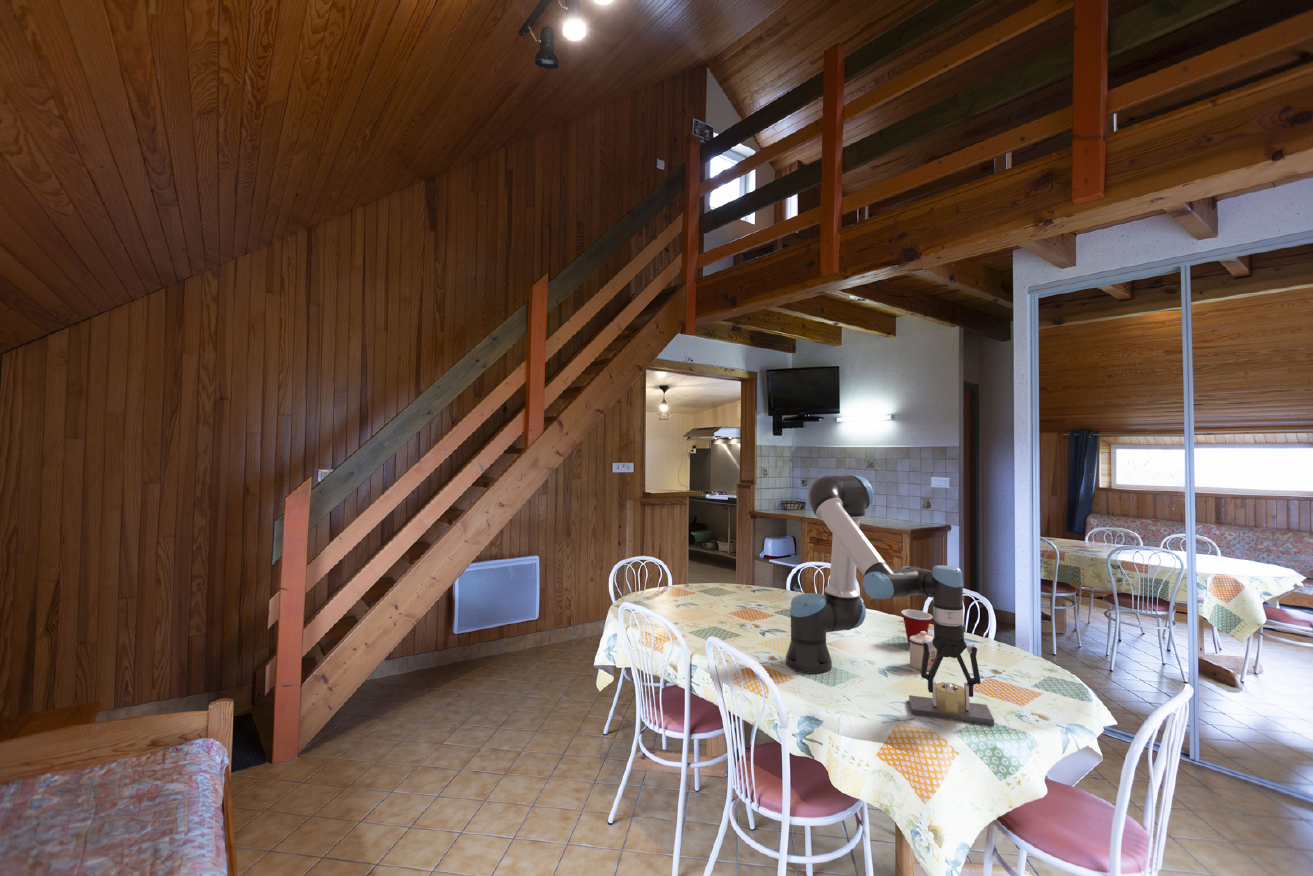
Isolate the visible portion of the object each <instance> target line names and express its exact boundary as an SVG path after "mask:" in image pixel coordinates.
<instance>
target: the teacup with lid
mask: <svg viewBox="0 0 1313 876" xmlns="http://www.w3.org/2000/svg"><path fill="white" fill-rule="evenodd" d="M933 638H934V636H933V637H932V636H931V635H929V634H927V633H926V632H925V631H921V632H920V634H917V635H914V636H911V637H910V638H909V641H910V645H909V665H910V666H911V667H913V669H917V670H920V671H921V665H922V658H923V651H924V648H923V644H922V642H923V641H926V642H928V641H932V640H933ZM936 654H937V649H936V648H935V647H934V645H933V646H932V647H931V650H929V658H928V666H927V672H928V671H930V669H931V666H932V664H933V662H934V659H935V657H936Z"/></svg>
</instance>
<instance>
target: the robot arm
mask: <svg viewBox="0 0 1313 876" xmlns="http://www.w3.org/2000/svg"><path fill="white" fill-rule="evenodd" d="M874 498H875V496H874V491H873V488H872V485H871V484H870V483H869V481H868V480H867V479H866V477H863V476H861V475H852V474H845V475H823V476H821V477H818V478H816V480H814V481H813V483H811V485H810V488H809V491H808V504H809V507H810V508H811V510H812V513H813V514H814V515H815V517H816V518H817V519H818V520H820V521H823V522H824V523H825V525H826V526H827V528H828V529H829V530H830V532H831V533H832V542H831V543H832V544H831V554H830V556H831V558H830V573H829V575H830V576H829V584H828V585H827V586H826V587H825V588H824V593H818V592H817V593H816V592H811V593H809V592H807V593H806V592H805V593H800V594H797V595H795V596H794V597H793V598H792V599H791V602H790V610H789V612H790V643H789V647H788V649H787V651H786V652H787V653H786V655H785V665H786V666H787V667H788V668H789V669H791V670H794V671H797V672H800V673H806V674H821V673H823V674H824V673H827V672H828V671H831V670H832V668H833V667H832V665H833V663H832V662H833V661H832V658H831V655H830V652H829V649H828V646H827V633H832V632H840V631H851V630H852V629H857V628H859V627H860V626H861V625H863V623H864V621H865V618H866V613H867V609H866V605H865V604H864V603H865V602H864V599H863V598H862V597H861V596H860V592H859V591H858V590H857V588H856V583H857V568H858V570H859V572H860V573H861V574H862V575H863V579H862V586H863V588H864V592H865V594H866V595H867V596H868V598H869V597H870V598H871V599H874V600H888V599H892V598H899V597H900V598H901V597H909V596H917V595H918V596H925V597H928V598H932V603H933V608H932V609H933V620H934V622H933V640H932V641H928V642H926V641H923V642H922V644H923V648H924V651H923V658H922V665H921V670H920V678H922V679H925V680H926V681H927V690H928V693H931V694H932V695H931V696H932V697H931V698H932V702H933V706H937V701H936V684H937V682H936V679H935V678H936V677H935V676H936V675H937V671H938V670H939V668H940V665H941V662H942V661H943V659H944V658H952V659H957V661H958V664H959V666H960V668H961V671H962V673H963V675H964V678H965V680H966V682H965V681H964V682H963V688H964V690H965V708H966V710H969V703H970V698H973V697H974V686H975V685H981V683H982V681H981V677H980V670H979V665H978V660H977V654H978V648H977V646H976V645H975V644H967V643H966V641H965V628H964V627H965V626H964V625H963V624H964V581H963V573H962V570H961V569H960V567H958V566H954V565H943V564H941V565H934V566H933V567H932V570H929V569H926V568H925V569H924V568H922V567H921V568H920V567H917V566H908V565H905V566H902V567H901V568H900V569H895V570H893V569H891V567H890V566H889V565H888V563H887V562H886V561H885V560H884V559H883V557H882V556H881V554H880V553H879V552H878V551H877V550H876V548H875V547H874V546H873V544H872V543H871V542H870V541H869V539H868V538H867V537H866V535H865V534H864V532H863V531H862V530H861V529H860V522H861V520H863V518H865V517H866V509H869V508H870V507H871V505H872V504H873V503H874ZM933 645H934V647H935V648H936V649H937V654H936V657H935V659H934V662H933V664H932V666H931V669H930V671H929V672H928V671H927V666H928V658H929V650H931V647H932V646H933ZM965 650H967V652H968V653H969V658H970V664H971V668H972V674H973V677H971V675H970V673H969V671H968V669H967V667H966V664H965V661H964V660H963V657H962V655H961V654H963V652H964V651H965ZM927 672H928V673H927Z"/></svg>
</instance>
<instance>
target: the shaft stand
mask: <svg viewBox="0 0 1313 876" xmlns="http://www.w3.org/2000/svg"><path fill="white" fill-rule="evenodd" d="M945 683H946V684H945V689H947V690H953V691H954V685H952V684H948V683H949V682H945ZM908 702H909V706H910V712H911V715H912V716H913V715H914V716H919V715H920V717H928V718H935V719H943V720H950V721H957V722H958V721H959V722H964V723H965V722H966V723H973V724H978V725H979V724H980V725H987V726H988V725H989V726H995V719H994V717H993V715H992V712H991V711H990V709H989V707H988V705H987V704H984V703H975V702H969V710H966V708H965V712H961V713H950V712H945V711H943V710H941V709H938V708H937V707H936V706H933V702H932V697H926V696H919V695H911V694H909V695H908Z"/></svg>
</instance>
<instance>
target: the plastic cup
mask: <svg viewBox="0 0 1313 876" xmlns="http://www.w3.org/2000/svg"><path fill="white" fill-rule="evenodd" d="M900 613H901V614H902V617H903V618H902V619H903V622H904V629H905V634H906V639H907V644H908V645H909V646H910V641H909V638H910V637H911V636H914V635H917V634H920V632H921V631H925V632H926V633H927V635H929V634H928V632H929V628H930V622H931V620H932V619H933V615H932V614H930V613H928V612H925V611H921V610H918V609H917V610H916V609H903V610H901V612H900Z"/></svg>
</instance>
